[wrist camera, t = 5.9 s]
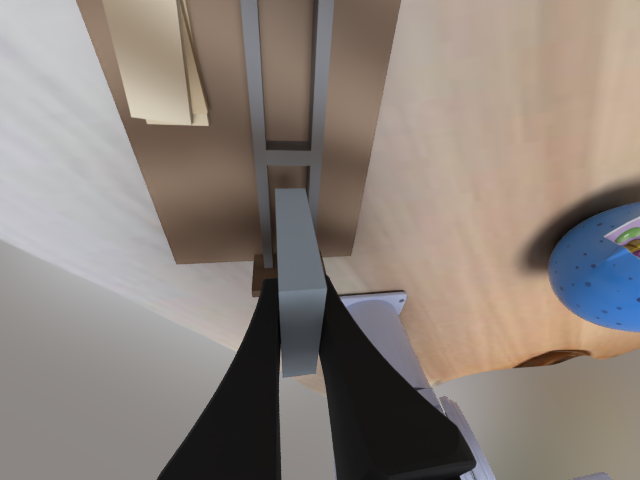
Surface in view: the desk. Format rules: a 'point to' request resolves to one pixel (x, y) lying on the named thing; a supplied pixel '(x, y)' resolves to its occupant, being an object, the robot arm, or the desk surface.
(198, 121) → the offcut stack
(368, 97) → the board with sliding block
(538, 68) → the desk surface
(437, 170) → the desk surface
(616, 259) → the cell model
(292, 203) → the slate board
